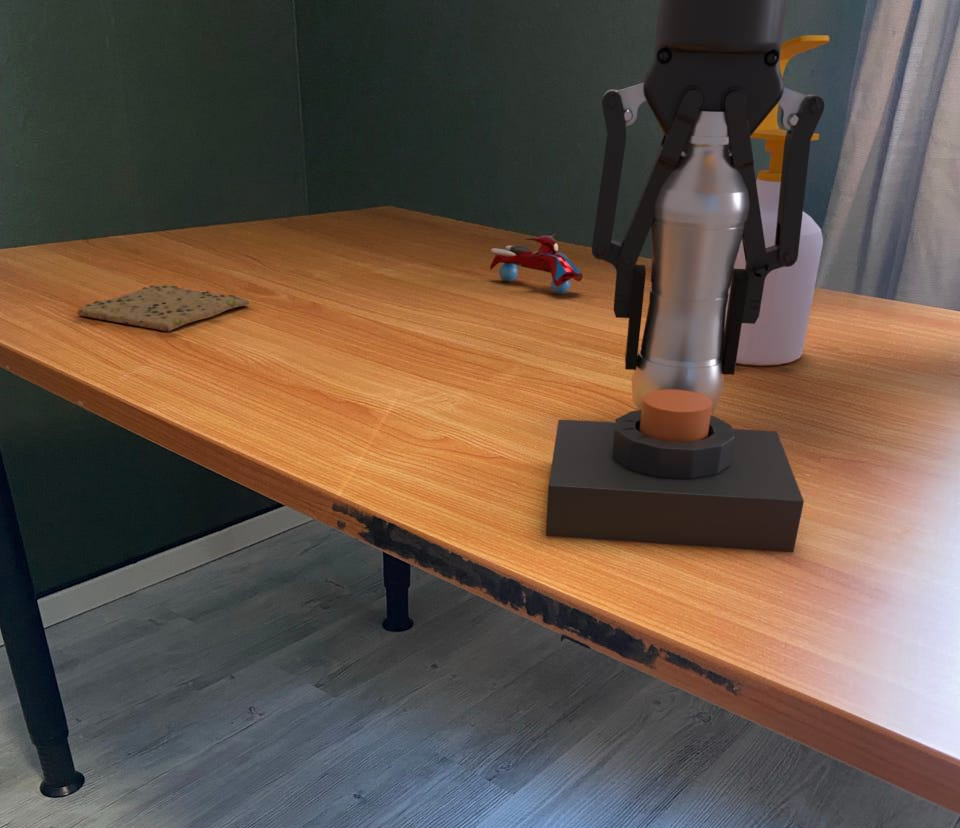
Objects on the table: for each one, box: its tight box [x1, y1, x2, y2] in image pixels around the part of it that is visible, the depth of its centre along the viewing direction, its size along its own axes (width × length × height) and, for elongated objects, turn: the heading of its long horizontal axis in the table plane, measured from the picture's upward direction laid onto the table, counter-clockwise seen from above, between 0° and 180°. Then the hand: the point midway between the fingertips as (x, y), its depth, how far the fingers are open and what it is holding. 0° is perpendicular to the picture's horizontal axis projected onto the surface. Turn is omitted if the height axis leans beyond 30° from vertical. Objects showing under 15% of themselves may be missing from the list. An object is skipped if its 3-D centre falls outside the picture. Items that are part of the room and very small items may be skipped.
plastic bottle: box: [631, 111, 750, 416], centre depth 67 cm, size 6×7×20 cm
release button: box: [639, 389, 712, 442], centre depth 58 cm, size 4×4×2 cm
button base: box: [545, 409, 805, 553], centre depth 60 cm, size 14×11×5 cm
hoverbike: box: [489, 233, 583, 295], centre depth 109 cm, size 5×12×6 cm, turn 45°
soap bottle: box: [724, 34, 830, 367], centre depth 83 cm, size 9×9×25 cm
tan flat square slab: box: [77, 285, 250, 332], centre depth 99 cm, size 12×12×1 cm
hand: (678, 365), depth 70 cm, fingers closed on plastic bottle, 6 cm apart
